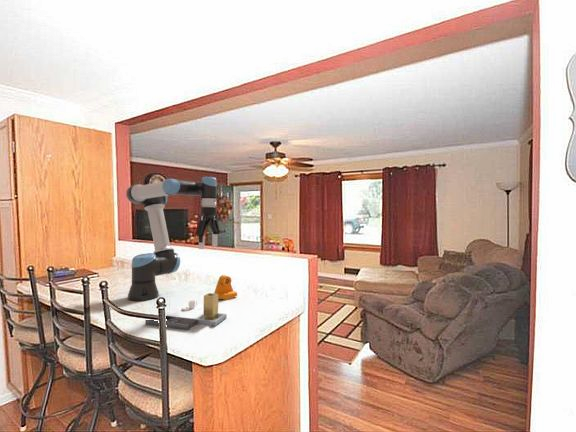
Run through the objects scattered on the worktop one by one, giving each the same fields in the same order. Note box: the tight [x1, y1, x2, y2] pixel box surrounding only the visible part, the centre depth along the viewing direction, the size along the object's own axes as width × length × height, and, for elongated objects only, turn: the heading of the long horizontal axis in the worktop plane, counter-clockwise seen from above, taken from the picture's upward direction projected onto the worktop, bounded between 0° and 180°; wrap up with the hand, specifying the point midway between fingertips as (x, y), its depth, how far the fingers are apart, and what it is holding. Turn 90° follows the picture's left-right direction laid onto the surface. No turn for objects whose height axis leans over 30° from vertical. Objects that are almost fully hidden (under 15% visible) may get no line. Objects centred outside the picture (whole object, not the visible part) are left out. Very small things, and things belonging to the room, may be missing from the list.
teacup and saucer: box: [181, 300, 201, 312], centre depth 147 cm, size 9×8×4 cm
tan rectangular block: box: [203, 292, 219, 321], centre depth 131 cm, size 4×4×11 cm
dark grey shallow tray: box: [144, 315, 199, 331], centre depth 125 cm, size 20×7×2 cm, turn 75°
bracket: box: [213, 274, 238, 301], centre depth 167 cm, size 11×7×12 cm, turn 131°
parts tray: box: [194, 312, 227, 327], centre depth 131 cm, size 10×10×2 cm
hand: (208, 247), depth 158 cm, fingers open, 13 cm apart
